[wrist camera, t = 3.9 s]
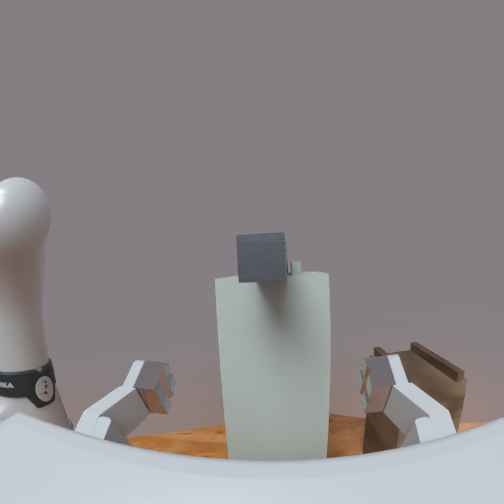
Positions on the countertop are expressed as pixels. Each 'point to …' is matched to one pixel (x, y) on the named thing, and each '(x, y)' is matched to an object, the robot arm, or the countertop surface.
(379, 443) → the chassis block
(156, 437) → the countertop surface
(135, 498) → the robot arm
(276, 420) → the stand
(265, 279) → the bar
